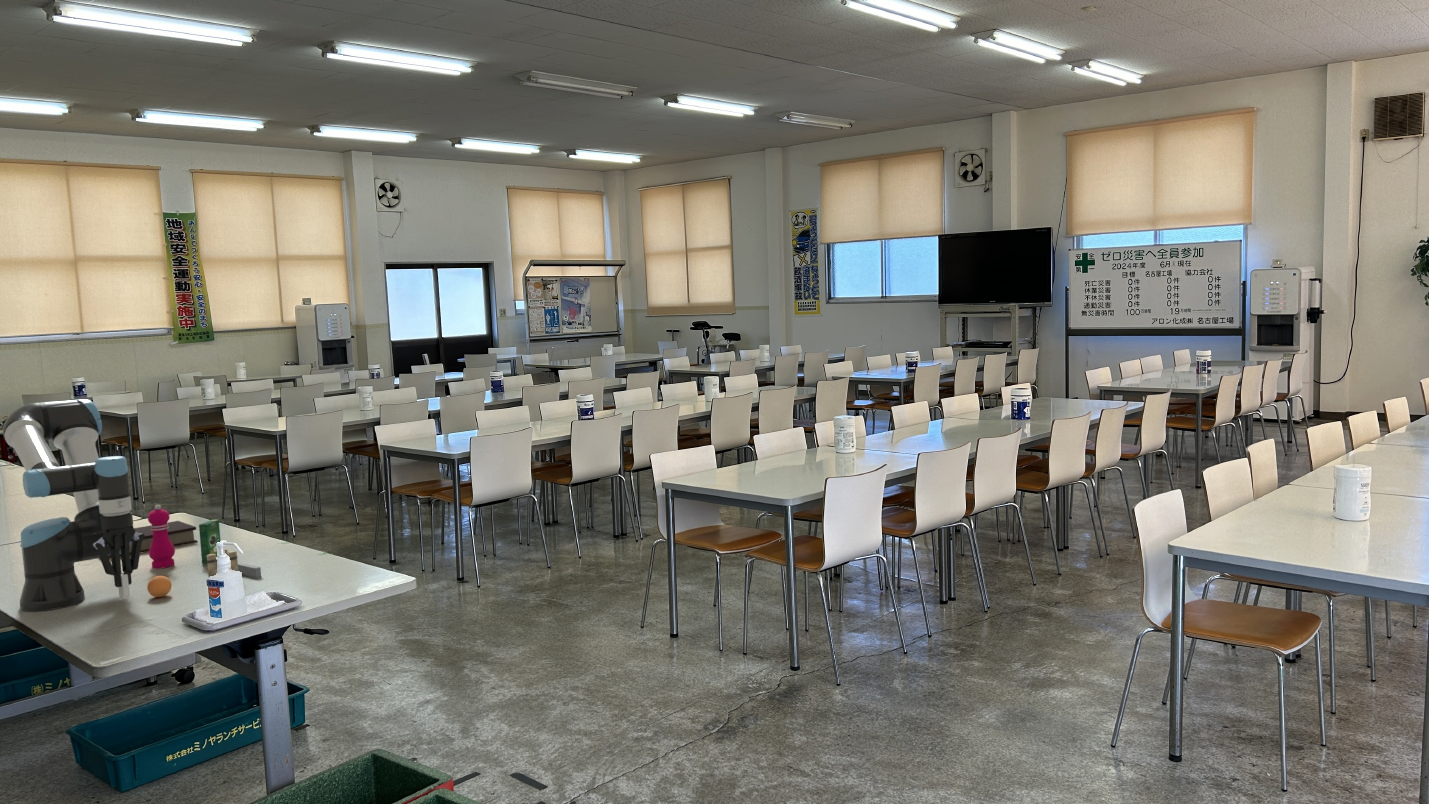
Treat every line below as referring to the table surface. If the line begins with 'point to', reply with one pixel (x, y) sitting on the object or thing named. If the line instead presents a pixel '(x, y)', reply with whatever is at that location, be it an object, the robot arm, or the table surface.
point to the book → (176, 533)
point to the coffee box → (209, 538)
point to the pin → (233, 560)
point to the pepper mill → (160, 539)
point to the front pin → (212, 564)
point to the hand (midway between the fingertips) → (124, 597)
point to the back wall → (249, 570)
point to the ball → (159, 586)
